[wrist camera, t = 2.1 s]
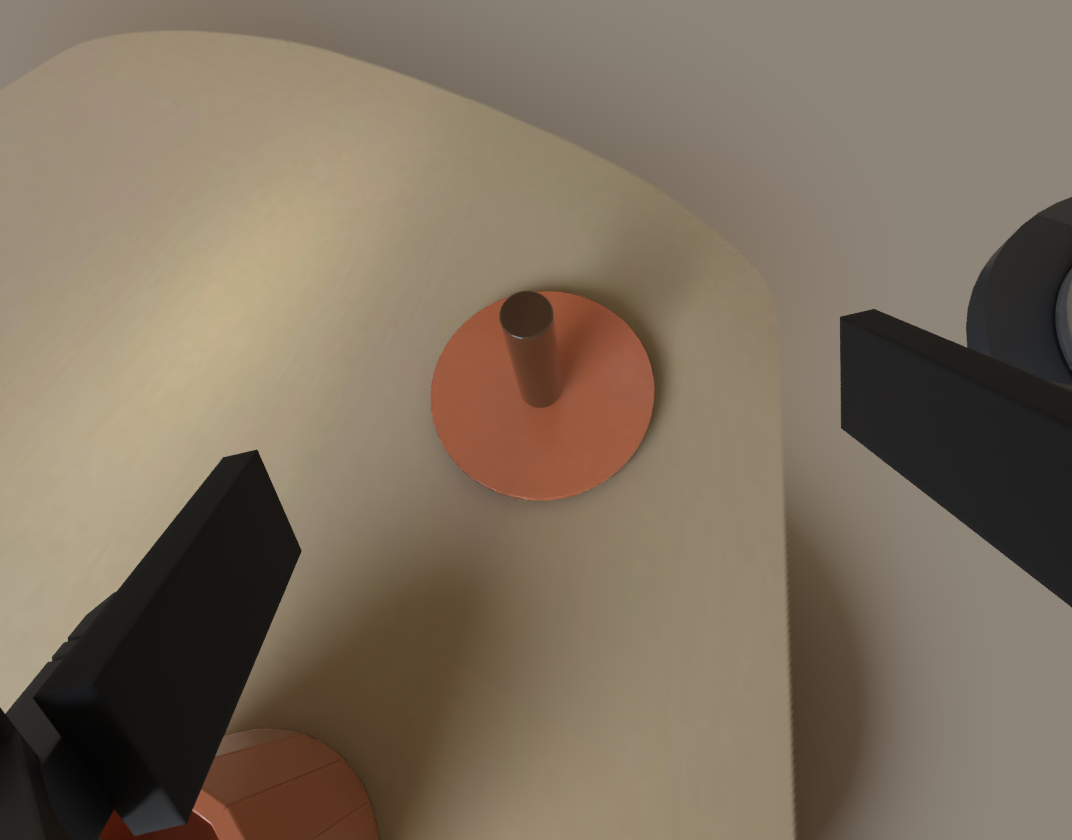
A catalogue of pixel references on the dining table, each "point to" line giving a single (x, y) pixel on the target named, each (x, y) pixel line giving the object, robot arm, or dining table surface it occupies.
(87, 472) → the dining table surface
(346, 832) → the jar
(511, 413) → the lid
